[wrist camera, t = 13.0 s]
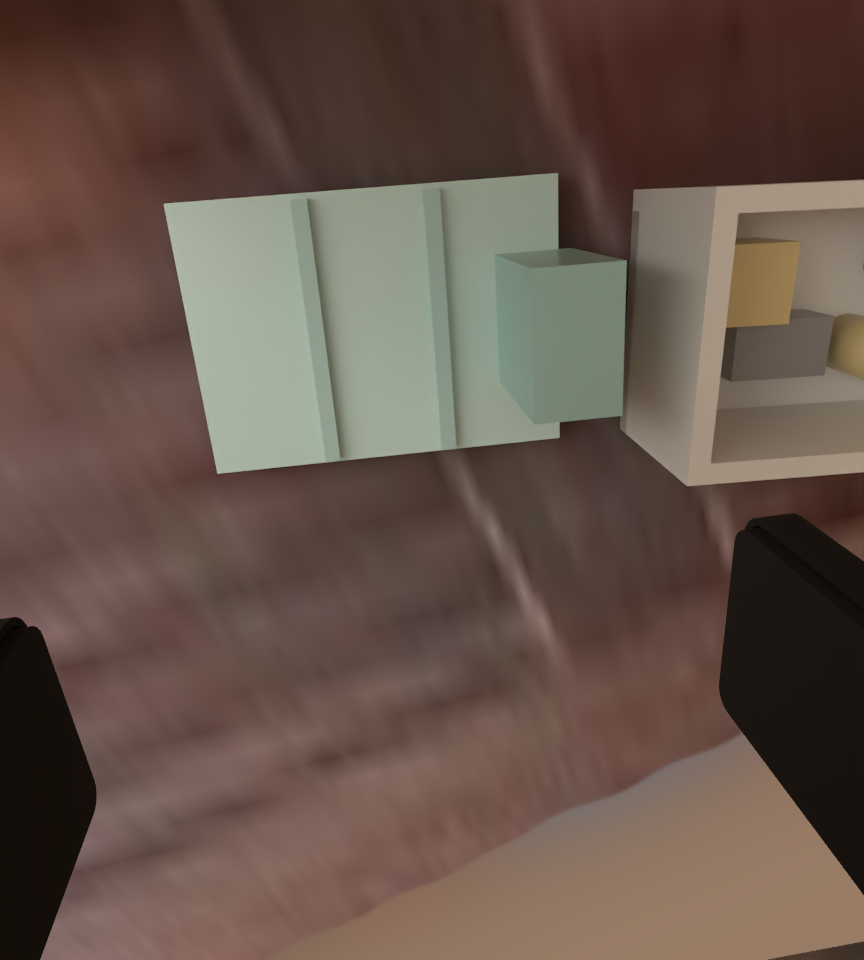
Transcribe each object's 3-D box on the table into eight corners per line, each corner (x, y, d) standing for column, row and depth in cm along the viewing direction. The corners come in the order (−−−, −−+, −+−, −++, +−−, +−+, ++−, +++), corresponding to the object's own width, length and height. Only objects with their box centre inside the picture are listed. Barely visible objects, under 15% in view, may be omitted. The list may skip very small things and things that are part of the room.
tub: (633, 189, 28) (717, 186, 22) (960, 175, 30) (1131, 168, 23) (619, 428, 32) (686, 486, 26) (910, 407, 33) (1045, 457, 27)
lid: (174, 203, 27) (110, 205, 20) (558, 173, 28) (629, 164, 21) (224, 458, 31) (186, 538, 24) (559, 424, 32) (620, 489, 25)
